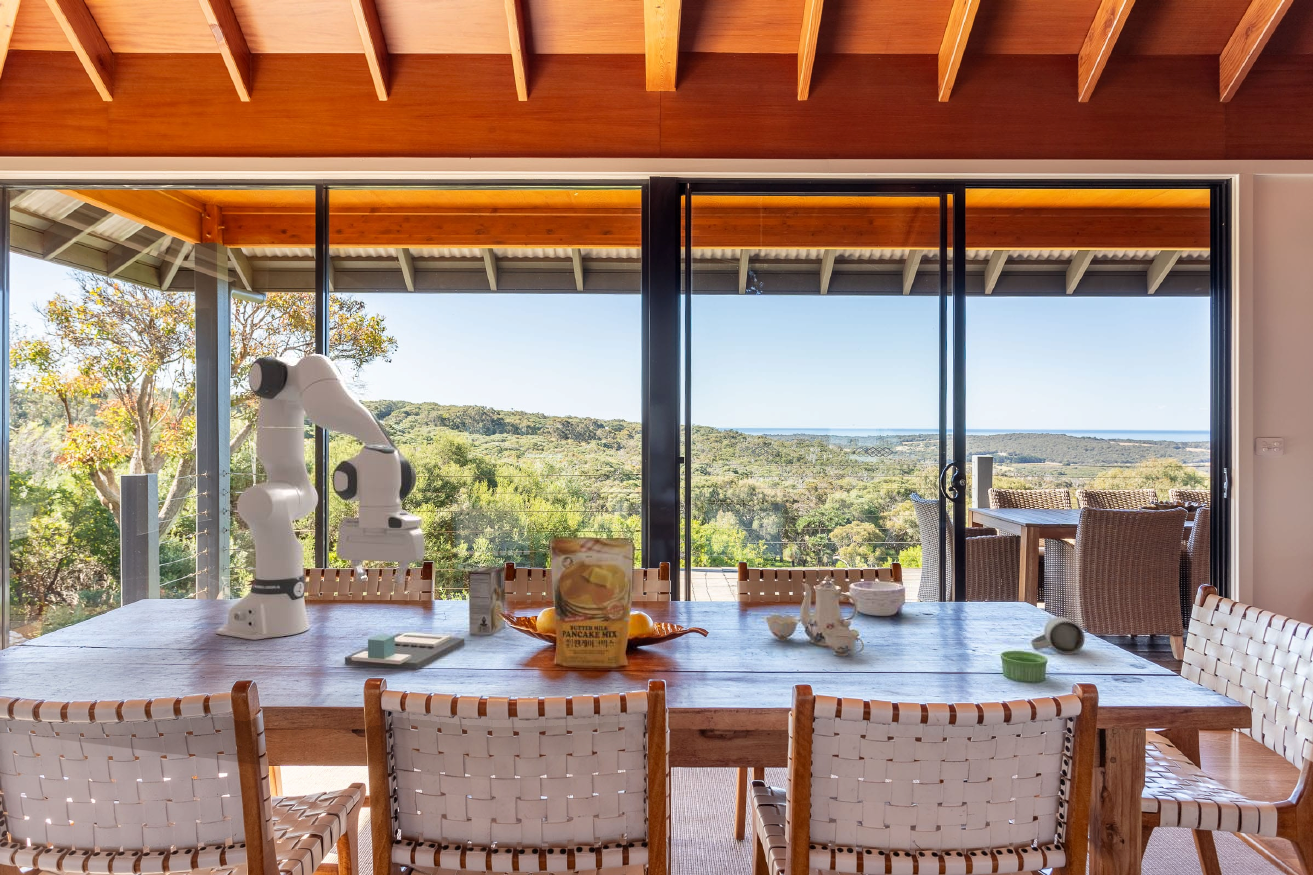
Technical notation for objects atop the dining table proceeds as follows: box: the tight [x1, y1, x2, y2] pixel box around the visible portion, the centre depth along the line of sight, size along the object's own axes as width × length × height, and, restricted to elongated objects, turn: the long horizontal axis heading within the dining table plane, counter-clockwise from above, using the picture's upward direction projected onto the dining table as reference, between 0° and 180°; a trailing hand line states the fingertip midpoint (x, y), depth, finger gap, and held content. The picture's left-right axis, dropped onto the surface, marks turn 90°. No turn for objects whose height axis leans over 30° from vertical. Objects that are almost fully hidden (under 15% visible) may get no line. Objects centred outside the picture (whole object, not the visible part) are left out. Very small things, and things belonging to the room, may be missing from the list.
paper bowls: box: [849, 581, 906, 617], centre depth 224 cm, size 15×15×8 cm
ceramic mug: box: [1030, 616, 1086, 655], centre depth 186 cm, size 11×8×8 cm
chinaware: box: [764, 575, 865, 657], centre depth 191 cm, size 28×17×17 cm, turn 46°
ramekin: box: [1000, 650, 1049, 684], centre depth 165 cm, size 9×9×4 cm
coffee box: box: [468, 565, 506, 636], centre depth 205 cm, size 9×6×16 cm
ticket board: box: [344, 632, 466, 671], centre depth 183 cm, size 18×21×2 cm
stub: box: [352, 634, 411, 664], centre depth 173 cm, size 12×4×5 cm, turn 75°
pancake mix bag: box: [548, 536, 636, 669], centre depth 175 cm, size 7×19×28 cm, turn 85°
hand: (379, 581), depth 173 cm, fingers open, 8 cm apart
